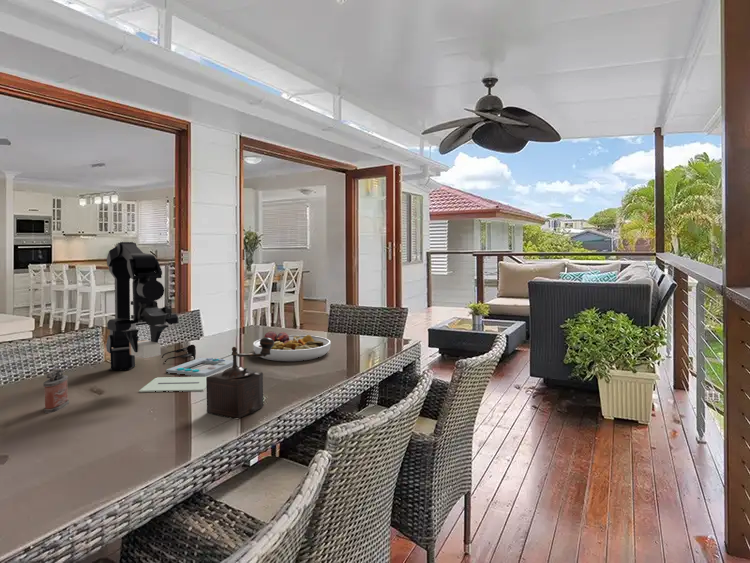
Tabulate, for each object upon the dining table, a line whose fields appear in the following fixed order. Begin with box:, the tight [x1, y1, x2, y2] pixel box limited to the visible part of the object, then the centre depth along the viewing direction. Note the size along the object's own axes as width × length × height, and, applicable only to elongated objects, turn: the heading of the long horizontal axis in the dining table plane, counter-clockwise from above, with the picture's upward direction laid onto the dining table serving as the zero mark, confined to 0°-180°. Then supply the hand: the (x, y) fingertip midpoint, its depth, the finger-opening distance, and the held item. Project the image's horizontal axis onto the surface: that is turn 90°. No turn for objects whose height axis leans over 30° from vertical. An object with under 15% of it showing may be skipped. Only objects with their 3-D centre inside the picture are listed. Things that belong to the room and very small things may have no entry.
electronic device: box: [165, 357, 233, 377], centre depth 167 cm, size 18×2×15 cm
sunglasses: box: [161, 344, 197, 363], centre depth 179 cm, size 10×12×5 cm
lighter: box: [42, 368, 70, 414], centre depth 126 cm, size 8×3×10 cm, turn 5°
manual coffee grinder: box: [206, 336, 274, 419], centre depth 127 cm, size 16×11×18 cm
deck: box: [129, 339, 161, 359], centre depth 143 cm, size 5×8×4 cm, turn 53°
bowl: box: [252, 331, 331, 362], centre depth 191 cm, size 30×30×8 cm
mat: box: [138, 376, 208, 393], centre depth 147 cm, size 18×14×1 cm
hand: (145, 350), depth 143 cm, fingers closed on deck, 5 cm apart
